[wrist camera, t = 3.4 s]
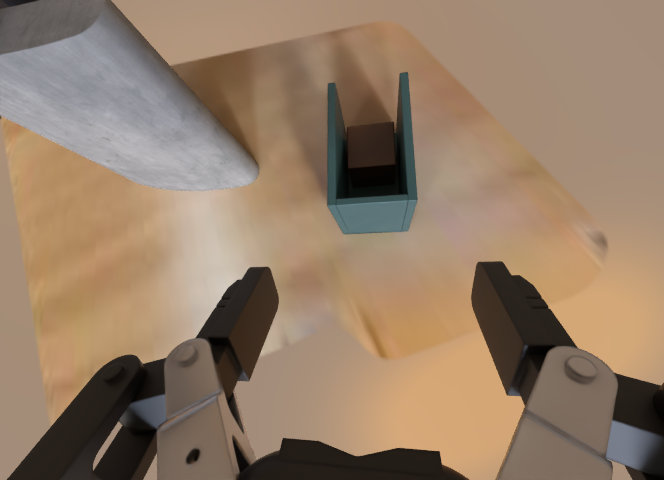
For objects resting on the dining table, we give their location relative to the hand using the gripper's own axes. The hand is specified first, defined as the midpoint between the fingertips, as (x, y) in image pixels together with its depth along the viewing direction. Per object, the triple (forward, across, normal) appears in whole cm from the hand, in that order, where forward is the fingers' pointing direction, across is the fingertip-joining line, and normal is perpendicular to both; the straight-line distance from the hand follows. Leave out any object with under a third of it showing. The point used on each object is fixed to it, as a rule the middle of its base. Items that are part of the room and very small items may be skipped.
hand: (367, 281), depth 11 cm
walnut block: (+19, 0, +1) cm, 19 cm away
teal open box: (+18, 0, +3) cm, 18 cm away
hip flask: (+20, +20, +1) cm, 28 cm away
